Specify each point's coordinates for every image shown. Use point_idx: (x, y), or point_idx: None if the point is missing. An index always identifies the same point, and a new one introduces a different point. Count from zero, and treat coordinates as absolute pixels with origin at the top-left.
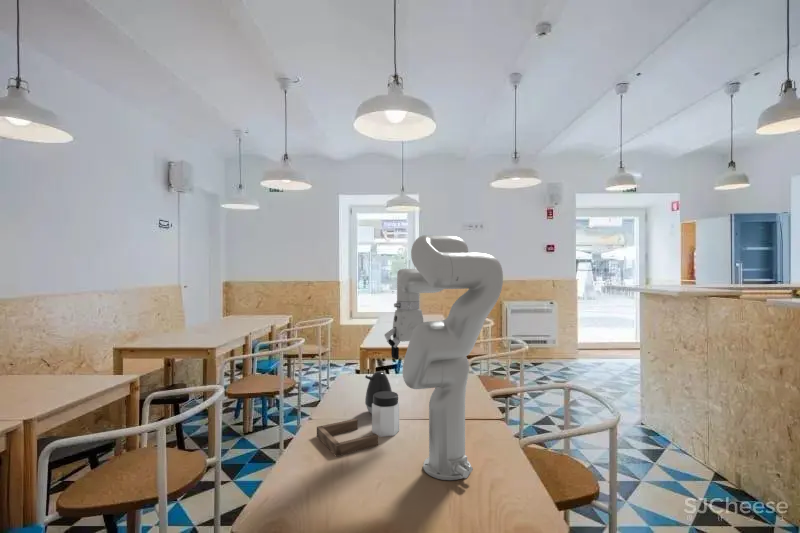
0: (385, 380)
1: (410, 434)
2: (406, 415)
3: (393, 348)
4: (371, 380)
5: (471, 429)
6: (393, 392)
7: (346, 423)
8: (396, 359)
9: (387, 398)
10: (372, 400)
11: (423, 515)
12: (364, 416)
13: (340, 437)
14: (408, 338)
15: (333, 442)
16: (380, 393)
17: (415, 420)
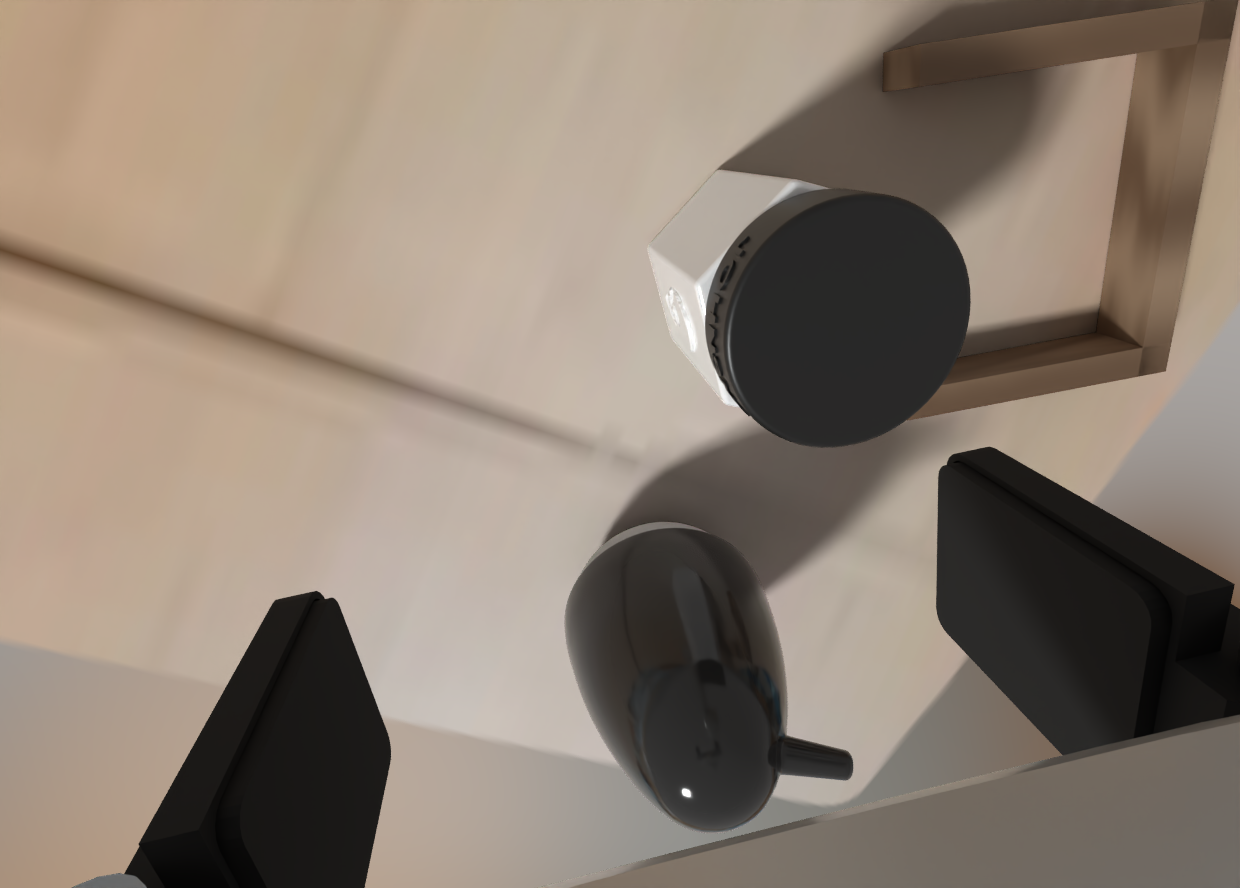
0: (676, 701)
1: (599, 146)
2: (493, 485)
3: (1237, 635)
4: (785, 733)
5: (49, 19)
6: (748, 371)
7: (983, 374)
8: (980, 457)
9: (894, 203)
10: (754, 582)
11: None
12: (756, 549)
13: (1018, 288)
14: (1159, 863)
15: (1220, 65)
16: (875, 387)
17: (464, 380)
